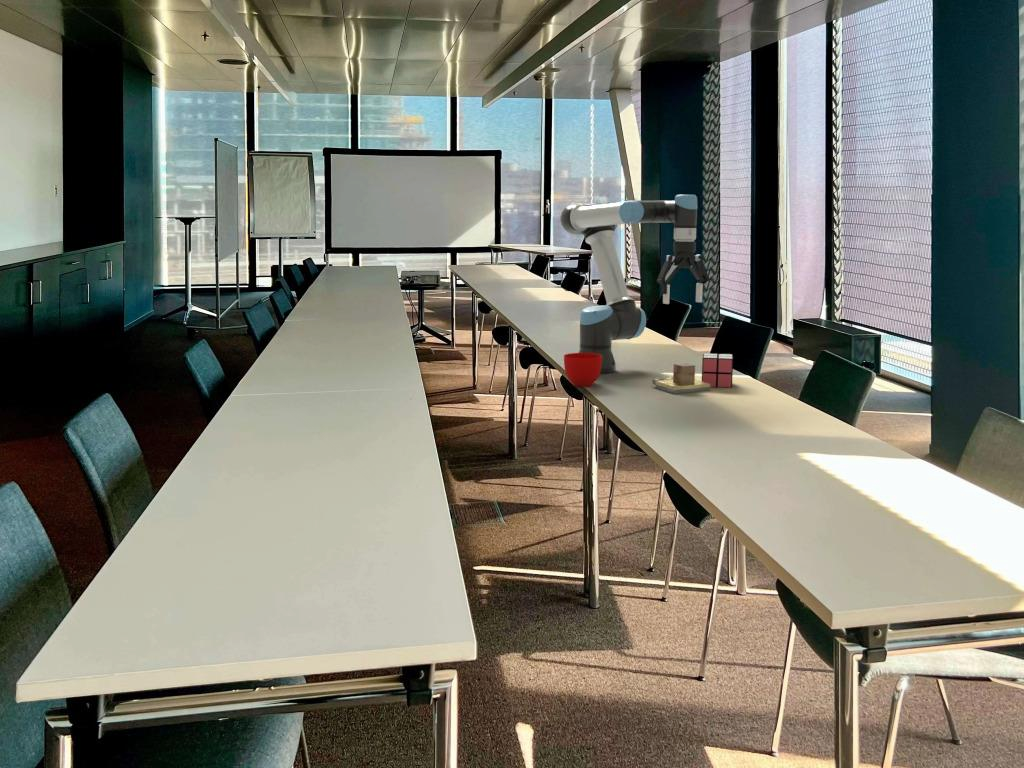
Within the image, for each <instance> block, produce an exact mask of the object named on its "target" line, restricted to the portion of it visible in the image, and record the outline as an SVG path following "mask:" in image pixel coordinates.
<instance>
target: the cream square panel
mask: <svg viewBox="0 0 1024 768" xmlns="http://www.w3.org/2000/svg"><path fill="white" fill-rule="evenodd" d="M663 379H664V380H661V381H656V385H659V386H663V387H666V388H669V389H672V390H681V389H692V388H702V387H710V383H707V382H703V381H702V380H700V379H695V383H693V384H679V383H675V382H673V377H665V378H663ZM710 388H711V387H710Z"/></svg>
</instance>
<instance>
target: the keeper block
mask: <svg viewBox="0 0 1024 768" xmlns="http://www.w3.org/2000/svg"><path fill="white" fill-rule="evenodd" d="M672 372H673V375H672V376H673V377H672V378H673V382H675V383H679V384H693V383H695V378H696V364H693V363H687V362H682V363H673V371H672Z"/></svg>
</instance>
